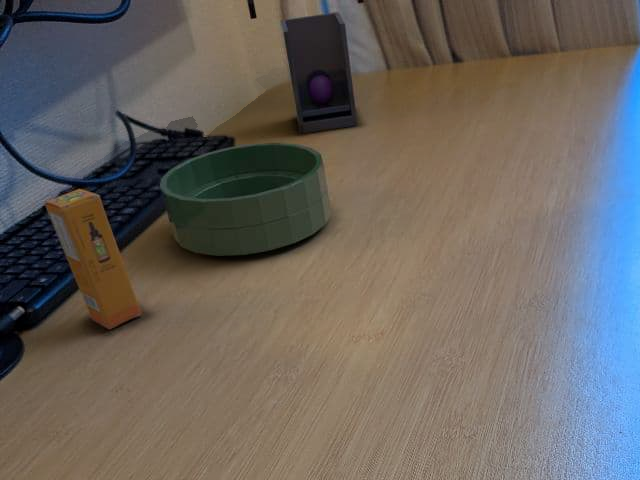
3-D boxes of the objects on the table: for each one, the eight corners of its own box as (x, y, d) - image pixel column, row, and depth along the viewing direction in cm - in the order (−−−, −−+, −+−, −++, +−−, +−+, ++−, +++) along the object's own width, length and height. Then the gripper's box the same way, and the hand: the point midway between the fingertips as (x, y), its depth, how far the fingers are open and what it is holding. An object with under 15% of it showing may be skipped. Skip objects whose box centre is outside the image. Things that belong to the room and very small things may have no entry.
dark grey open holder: (296, 118, 107) (280, 20, 99) (351, 110, 107) (338, 11, 100) (300, 134, 102) (283, 31, 94) (357, 125, 102) (345, 23, 95)
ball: (310, 102, 105) (305, 74, 103) (334, 98, 106) (330, 71, 103) (311, 109, 103) (307, 81, 101) (337, 105, 103) (333, 77, 101)
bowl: (180, 212, 85) (164, 157, 82) (324, 189, 86) (315, 134, 83) (173, 272, 74) (154, 211, 70) (338, 246, 75) (329, 184, 71)
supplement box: (123, 304, 70) (81, 185, 64) (143, 316, 68) (102, 193, 62) (88, 319, 69) (41, 198, 62) (107, 332, 67) (61, 208, 60)
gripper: (374, -145, 107) (404, 9, 106) (184, -120, 106) (212, 38, 105) (375, -200, 100) (407, -34, 99) (170, -173, 98) (200, -5, 97)
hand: (306, 3), depth 102 cm, fingers open, 13 cm apart
